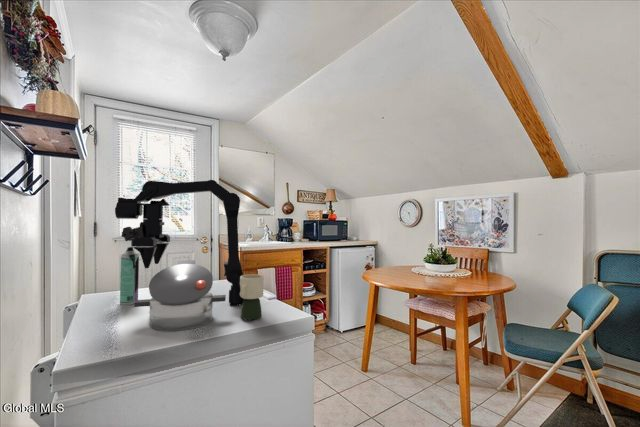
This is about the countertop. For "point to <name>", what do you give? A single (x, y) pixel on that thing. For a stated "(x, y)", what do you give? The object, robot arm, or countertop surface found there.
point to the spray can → (129, 277)
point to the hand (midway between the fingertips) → (151, 265)
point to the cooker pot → (180, 313)
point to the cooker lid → (181, 283)
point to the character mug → (251, 295)
